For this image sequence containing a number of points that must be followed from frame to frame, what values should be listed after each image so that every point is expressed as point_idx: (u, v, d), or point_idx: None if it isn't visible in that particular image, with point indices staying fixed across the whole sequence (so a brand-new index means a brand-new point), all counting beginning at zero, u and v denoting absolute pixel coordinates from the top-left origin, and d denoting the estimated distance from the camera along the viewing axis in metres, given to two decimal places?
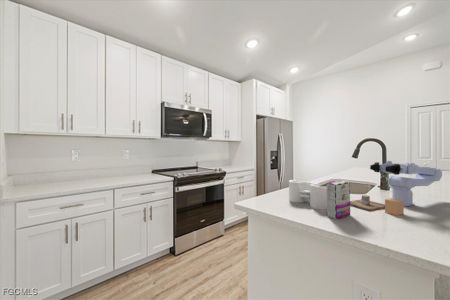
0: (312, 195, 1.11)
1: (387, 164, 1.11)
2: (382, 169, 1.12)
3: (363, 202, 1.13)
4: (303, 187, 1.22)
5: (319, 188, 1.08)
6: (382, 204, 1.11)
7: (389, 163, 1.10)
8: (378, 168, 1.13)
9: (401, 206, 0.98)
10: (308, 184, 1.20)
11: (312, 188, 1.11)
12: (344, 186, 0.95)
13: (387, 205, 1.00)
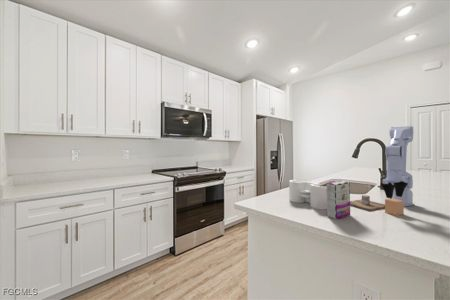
0: (312, 195, 1.11)
1: (398, 180, 0.97)
2: None
3: (363, 202, 1.13)
4: (303, 187, 1.22)
5: (319, 188, 1.08)
6: (382, 204, 1.11)
7: (401, 181, 0.97)
8: None
9: (401, 206, 0.98)
10: (308, 184, 1.20)
11: (312, 188, 1.11)
12: (344, 186, 0.95)
13: (387, 205, 1.00)
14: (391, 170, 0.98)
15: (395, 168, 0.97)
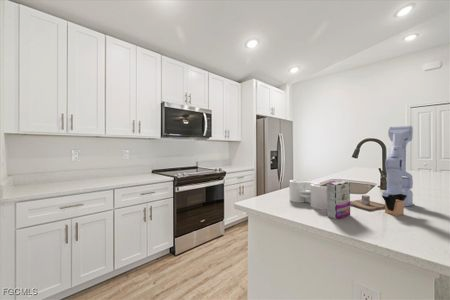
0: (312, 195, 1.11)
1: None
2: None
3: (363, 202, 1.13)
4: (303, 187, 1.22)
5: (319, 188, 1.08)
6: (382, 204, 1.11)
7: (400, 193, 0.97)
8: None
9: (401, 206, 0.98)
10: (308, 184, 1.21)
11: (312, 188, 1.11)
12: (344, 186, 0.95)
13: None
14: (391, 182, 0.98)
15: (395, 181, 0.97)
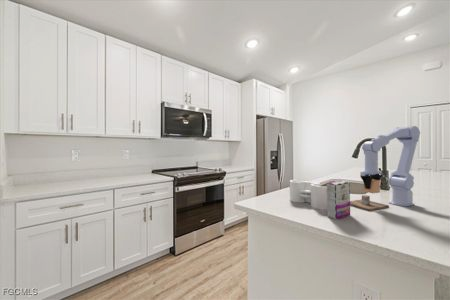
0: (313, 195, 1.11)
1: None
2: None
3: (363, 202, 1.13)
4: (304, 187, 1.22)
5: (320, 188, 1.08)
6: (382, 204, 1.11)
7: None
8: None
9: (377, 185, 1.08)
10: (309, 184, 1.21)
11: (313, 188, 1.11)
12: (344, 186, 0.95)
13: None
14: (368, 163, 1.08)
15: (368, 161, 1.08)
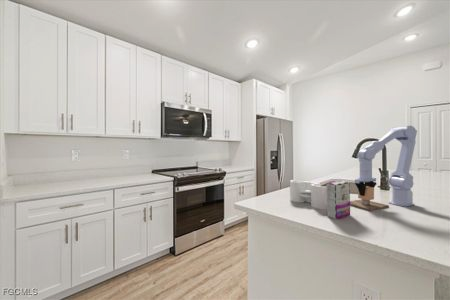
0: (313, 195, 1.11)
1: None
2: None
3: (363, 202, 1.13)
4: (304, 187, 1.22)
5: (320, 188, 1.08)
6: (382, 204, 1.11)
7: (371, 180, 1.10)
8: None
9: (371, 192, 1.10)
10: (309, 184, 1.21)
11: (313, 188, 1.11)
12: (344, 186, 0.95)
13: None
14: (362, 171, 1.11)
15: (362, 169, 1.11)
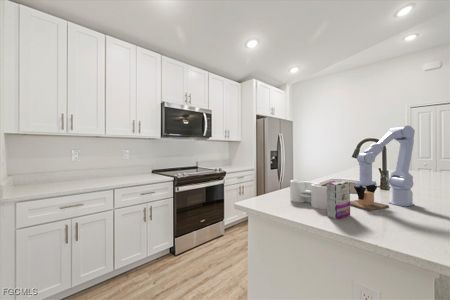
0: (313, 195, 1.12)
1: None
2: None
3: None
4: (304, 187, 1.22)
5: (320, 188, 1.08)
6: (382, 204, 1.11)
7: None
8: None
9: (371, 197, 1.11)
10: (309, 184, 1.21)
11: (313, 188, 1.11)
12: (344, 186, 0.95)
13: None
14: (362, 175, 1.11)
15: (362, 172, 1.12)
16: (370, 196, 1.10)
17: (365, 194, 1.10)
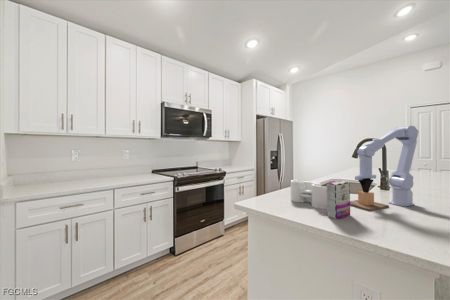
0: (313, 195, 1.12)
1: (368, 177, 1.10)
2: None
3: None
4: (305, 187, 1.23)
5: (320, 188, 1.08)
6: (382, 204, 1.11)
7: (371, 177, 1.10)
8: None
9: (371, 197, 1.11)
10: (310, 184, 1.21)
11: (313, 188, 1.12)
12: (344, 186, 0.95)
13: (359, 196, 1.13)
14: (362, 168, 1.11)
15: (362, 166, 1.11)
16: (370, 196, 1.10)
17: (365, 194, 1.10)
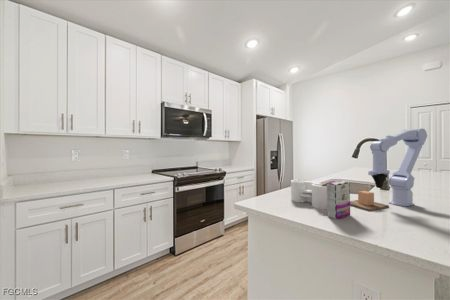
0: (314, 195, 1.12)
1: (382, 172, 1.08)
2: None
3: None
4: (305, 187, 1.23)
5: (320, 188, 1.08)
6: (382, 204, 1.11)
7: (384, 172, 1.08)
8: None
9: (371, 197, 1.11)
10: (310, 184, 1.21)
11: (314, 188, 1.12)
12: (344, 186, 0.95)
13: (359, 196, 1.13)
14: (376, 163, 1.09)
15: (376, 161, 1.09)
16: (370, 196, 1.10)
17: (365, 194, 1.10)
